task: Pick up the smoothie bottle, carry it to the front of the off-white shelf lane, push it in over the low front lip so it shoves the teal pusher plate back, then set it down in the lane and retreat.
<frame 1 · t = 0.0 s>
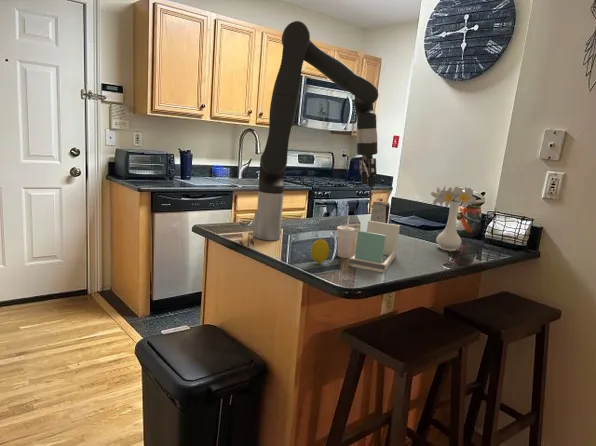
hand: (367, 185, 160), 22 cm above the table, tool pointing down, fingers open, 8 cm apart
coffee box: (376, 244, 165), on the table
flower vase: (445, 249, 169), on the table
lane: (373, 260, 142), on the table
smoothie: (343, 256, 143), on the table
lemon: (318, 264, 132), on the table
pusher: (369, 249, 131), point 6 cm above the table, slide at 0.0 cm
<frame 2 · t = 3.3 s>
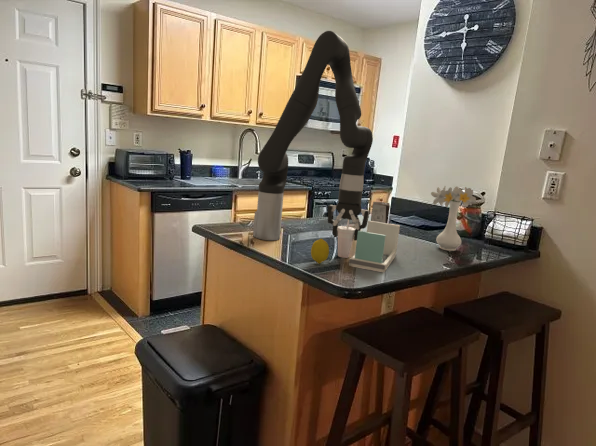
hand: (345, 238, 142), 6 cm above the table, tool pointing down, fingers closed on smoothie, 6 cm apart
smoothie: (343, 256, 143), on the table, touching gripper
everything else where it was.
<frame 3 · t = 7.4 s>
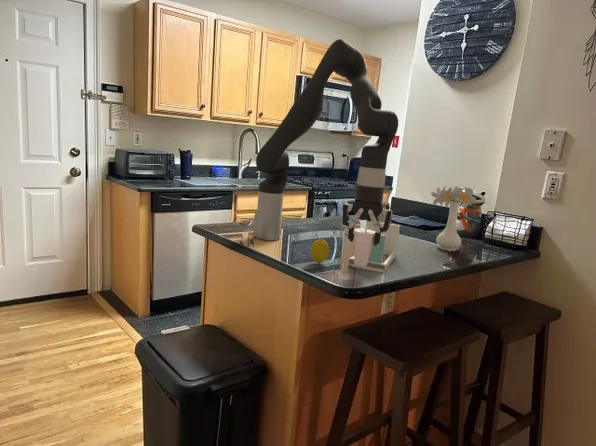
hand: (363, 242, 121), 10 cm above the table, tool pointing down, fingers closed on smoothie, 6 cm apart
smoothie: (360, 264, 122), point 4 cm above the table, touching gripper
everything else where it was.
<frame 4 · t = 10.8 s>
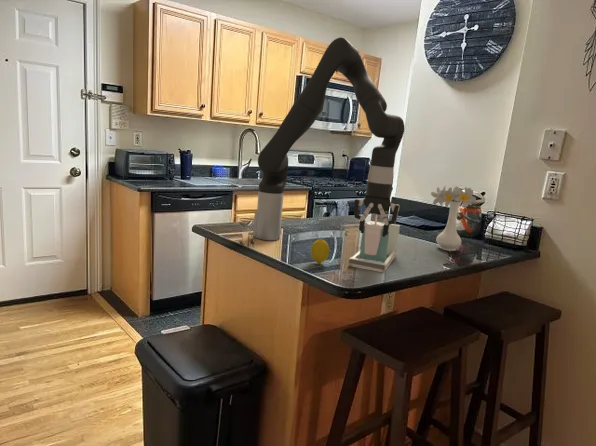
hand: (372, 234, 134), 10 cm above the table, tool pointing down, fingers closed on smoothie, 6 cm apart
smoothie: (370, 254, 135), point 4 cm above the table, touching gripper
pusher: (374, 244, 138), point 6 cm above the table, slide at 6.9 cm
everything else where it was.
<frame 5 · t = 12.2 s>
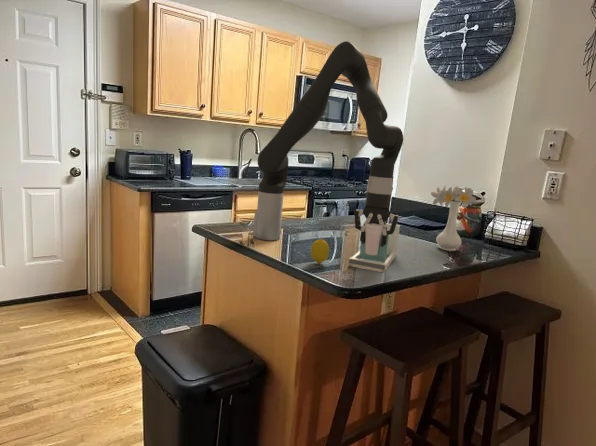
hand: (372, 244, 134), 7 cm above the table, tool pointing down, fingers closed on smoothie, 5 cm apart
smoothie: (371, 254, 135), point 4 cm above the table, touching gripper, pusher
pusher: (374, 244, 137), point 6 cm above the table, slide at 6.8 cm, touching smoothie
everything else where it was.
when the fingers open (7 cm above the table, at t = 12.4 s): smoothie stays where it is, resting on pusher.
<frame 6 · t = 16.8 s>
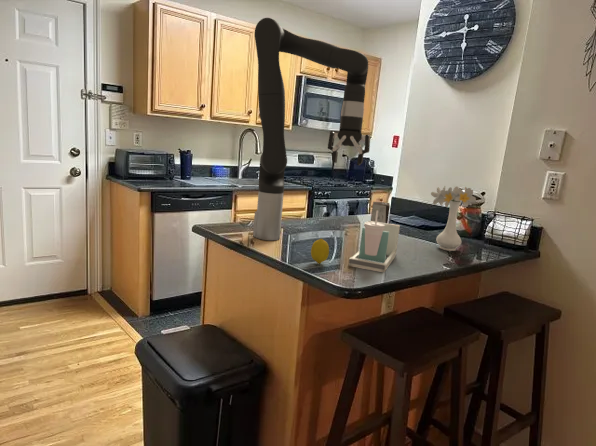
hand: (346, 163, 148), 30 cm above the table, tool pointing down, fingers open, 8 cm apart
smoothie: (370, 254, 134), point 4 cm above the table, touching pusher
pusher: (373, 245, 137), point 6 cm above the table, slide at 6.1 cm, touching smoothie
everything else where it was.
at the end: smoothie inside the target area (1.4 cm from its centre), point 3.5 cm above the table; smoothie tilted 0°; pusher slide at 6.1 cm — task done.
